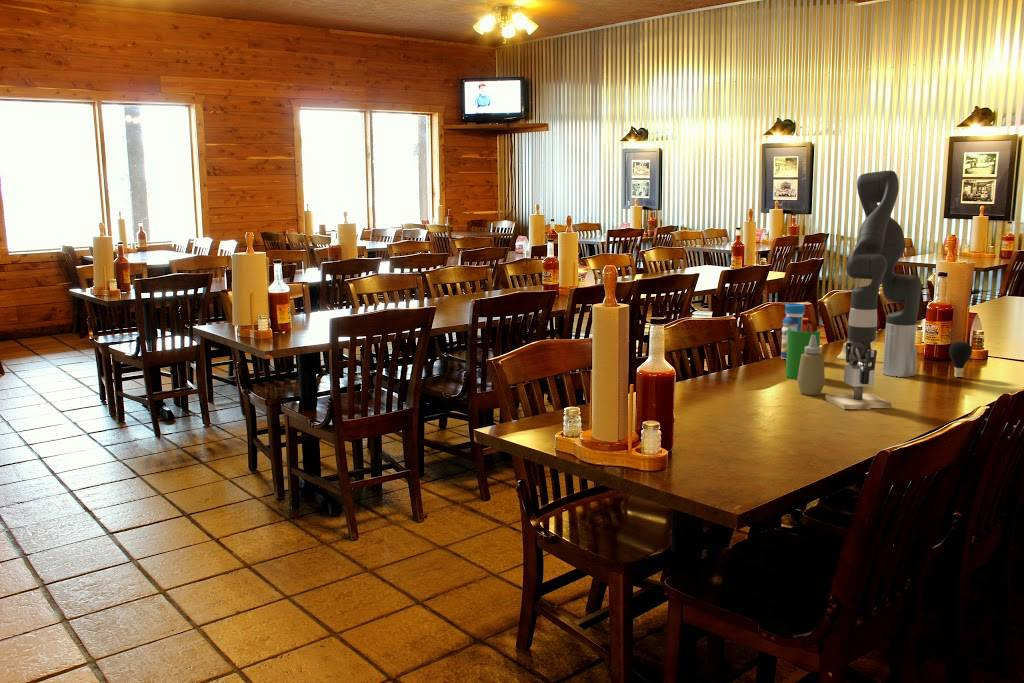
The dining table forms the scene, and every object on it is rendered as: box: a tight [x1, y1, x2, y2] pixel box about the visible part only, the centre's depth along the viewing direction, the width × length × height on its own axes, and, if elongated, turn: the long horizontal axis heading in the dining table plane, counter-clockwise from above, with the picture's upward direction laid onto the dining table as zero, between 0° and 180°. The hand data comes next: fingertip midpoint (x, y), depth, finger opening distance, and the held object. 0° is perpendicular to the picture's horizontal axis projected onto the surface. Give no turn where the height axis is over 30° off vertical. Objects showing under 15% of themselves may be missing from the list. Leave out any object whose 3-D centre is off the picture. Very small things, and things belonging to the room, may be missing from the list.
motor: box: [785, 317, 821, 380], centre depth 290 cm, size 10×9×20 cm
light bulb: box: [948, 340, 973, 378], centre depth 289 cm, size 7×7×12 cm
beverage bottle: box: [780, 302, 806, 360], centre depth 319 cm, size 8×8×20 cm
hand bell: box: [836, 319, 852, 361], centre depth 321 cm, size 8×8×16 cm
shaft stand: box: [824, 386, 893, 410], centre depth 256 cm, size 14×12×9 cm
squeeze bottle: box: [796, 335, 826, 396], centre depth 268 cm, size 8×8×18 cm
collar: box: [843, 364, 876, 388], centre depth 255 cm, size 6×6×5 cm
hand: (858, 381), depth 256 cm, fingers closed on collar, 6 cm apart
